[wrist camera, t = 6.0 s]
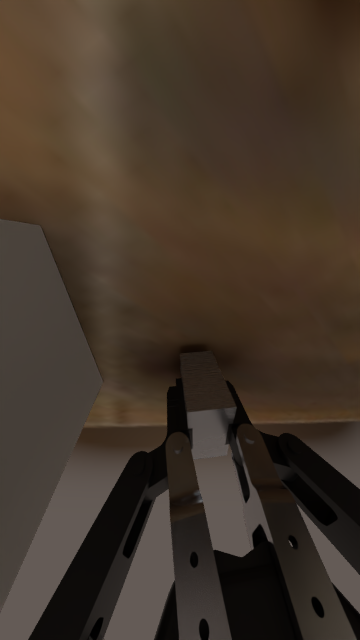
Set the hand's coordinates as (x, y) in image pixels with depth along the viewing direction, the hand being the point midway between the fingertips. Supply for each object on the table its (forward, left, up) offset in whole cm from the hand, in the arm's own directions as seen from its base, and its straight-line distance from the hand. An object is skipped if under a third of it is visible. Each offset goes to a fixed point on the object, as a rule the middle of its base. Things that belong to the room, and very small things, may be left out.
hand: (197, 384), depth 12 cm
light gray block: (0, 0, -1) cm, 1 cm away
